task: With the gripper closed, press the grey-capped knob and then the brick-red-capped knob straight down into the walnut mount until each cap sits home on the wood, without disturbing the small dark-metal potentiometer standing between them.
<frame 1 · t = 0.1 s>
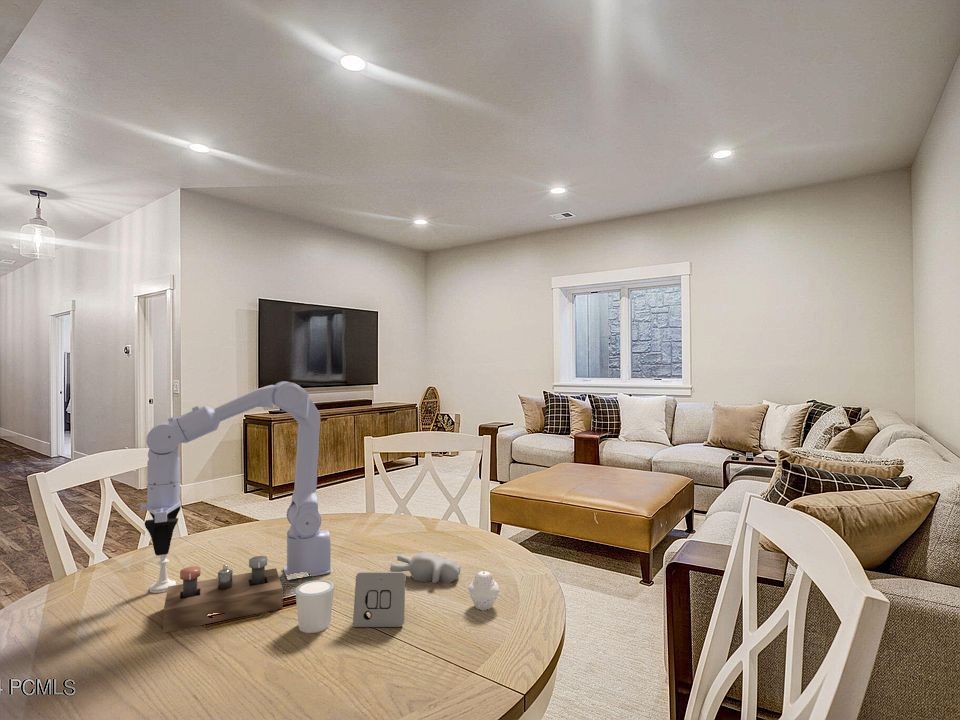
hand: (163, 548, 106), 10 cm above the table, fingers open, 7 cm apart
mount: (225, 607, 102), on the table
bunny figurine: (426, 579, 116), on the table
electrical switch: (379, 622, 97), on the table
chess piece: (163, 588, 111), on the table
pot: (225, 587, 102), point 4 cm above the table, touching mount
knob red: (190, 583, 99), point 6 cm above the table, slide at 0.0 cm
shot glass: (314, 626, 95), on the table
knob grey: (258, 572, 104), point 6 cm above the table, slide at 0.0 cm
white owl figurine: (483, 607, 102), on the table
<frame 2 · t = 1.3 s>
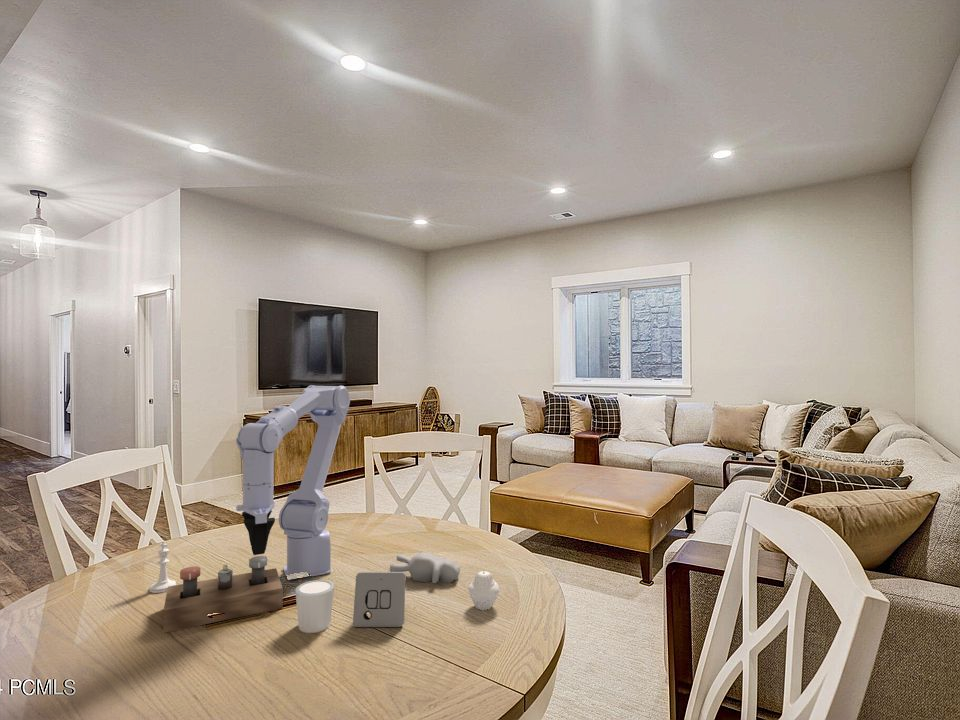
hand: (257, 549, 104), 10 cm above the table, fingers open, 4 cm apart
nothing on the table moved.
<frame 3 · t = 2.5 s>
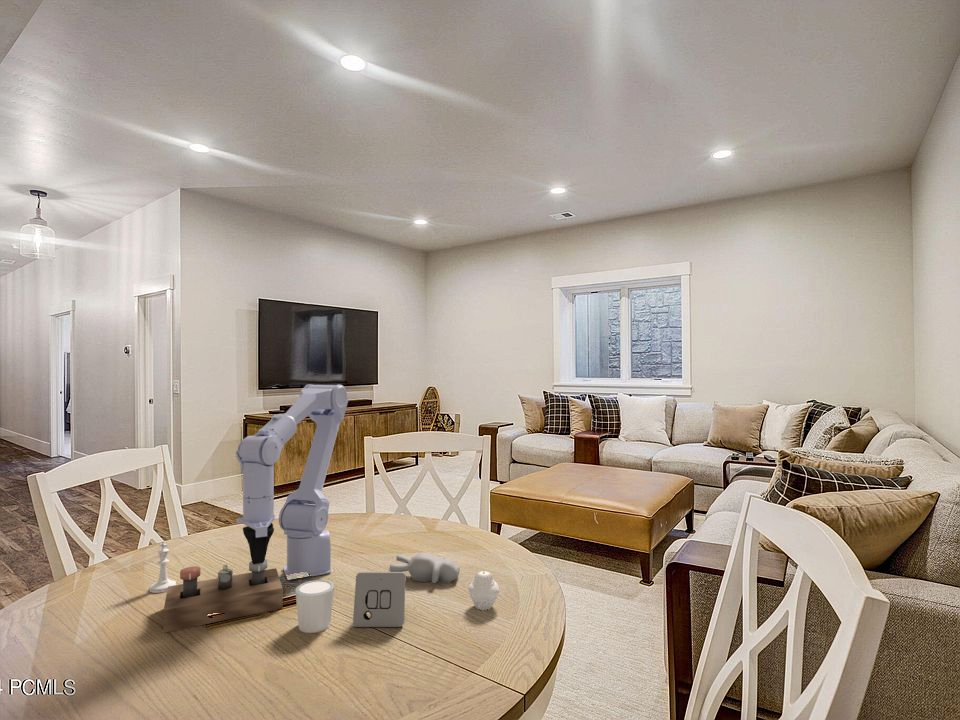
hand: (258, 562, 105), 8 cm above the table, fingers closed, pressing on knob grey
knob grey: (258, 575, 104), point 5 cm above the table, slide at 0.7 cm, touching gripper
everything else where it was.
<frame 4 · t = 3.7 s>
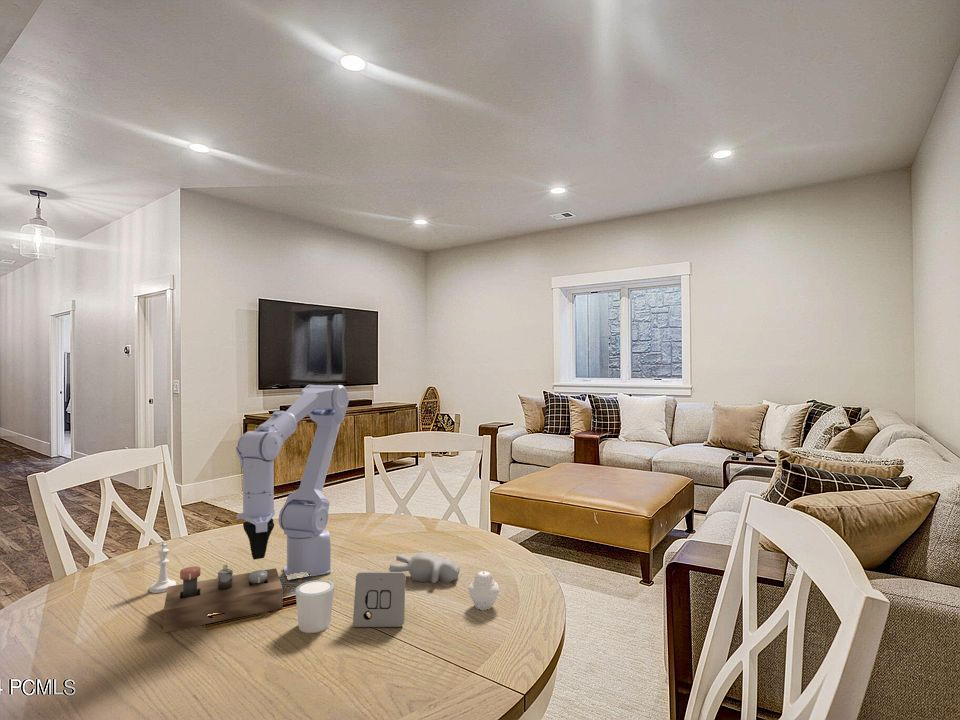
hand: (258, 557, 105), 9 cm above the table, fingers closed
knob grey: (258, 586, 104), point 3 cm above the table, slide at 2.9 cm
everything else where it was.
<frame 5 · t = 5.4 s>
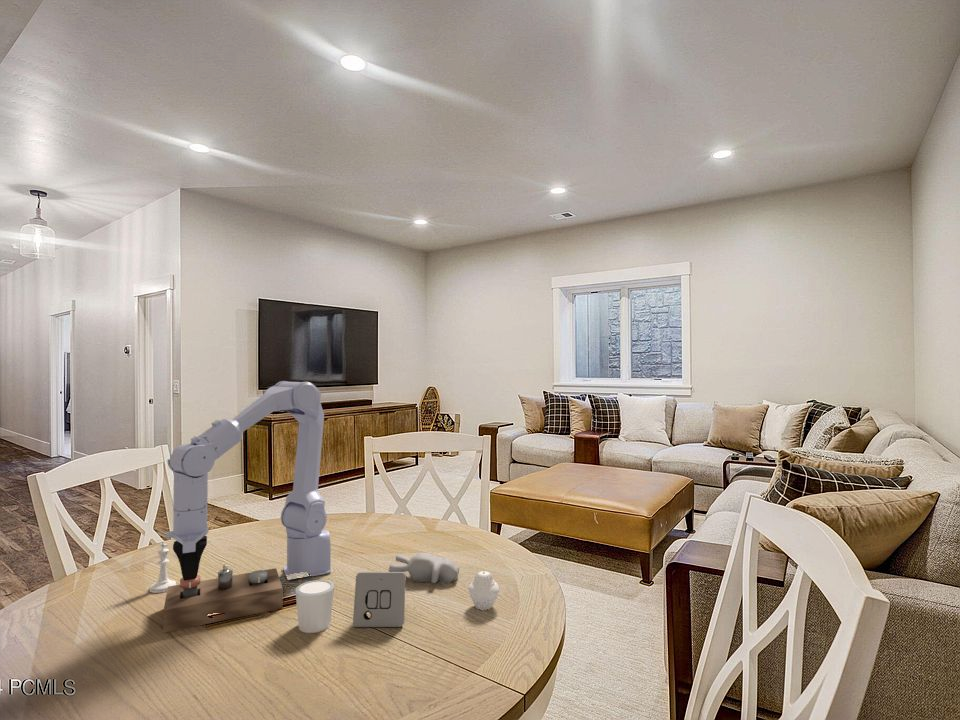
hand: (190, 578, 99), 7 cm above the table, fingers closed, pressing on knob red
knob red: (190, 592, 99), point 4 cm above the table, slide at 1.6 cm, touching gripper
everything else where it was.
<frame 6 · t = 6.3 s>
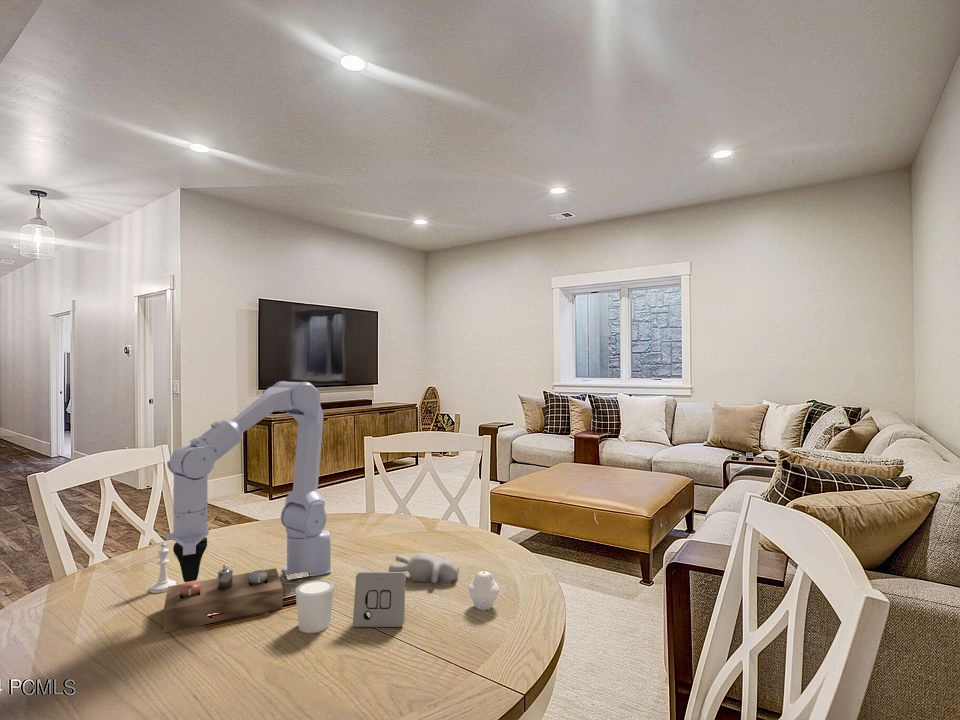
hand: (190, 580, 99), 7 cm above the table, fingers closed
knob red: (190, 599, 99), point 3 cm above the table, slide at 2.9 cm
everything else where it was.
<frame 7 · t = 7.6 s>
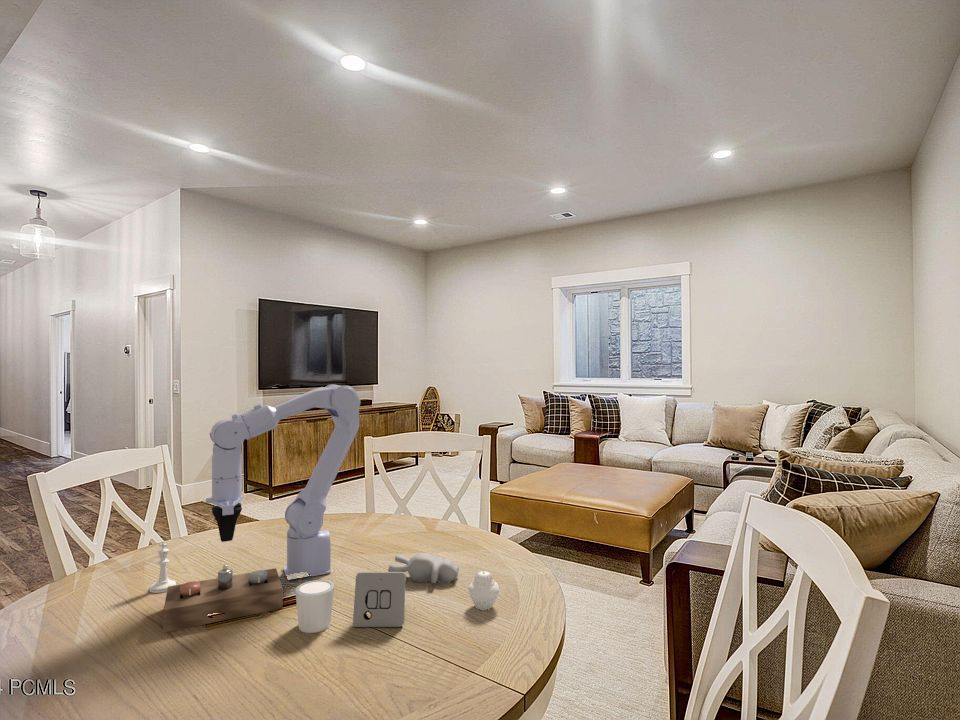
hand: (226, 540, 110), 10 cm above the table, fingers closed
nothing on the table moved.
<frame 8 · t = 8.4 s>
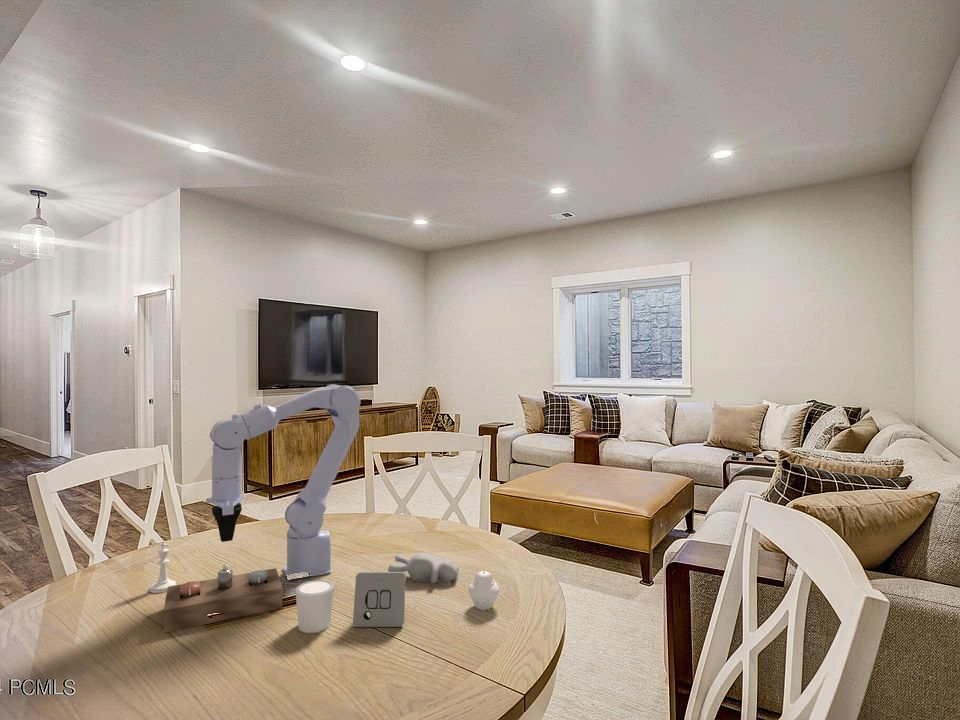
hand: (226, 540, 110), 10 cm above the table, fingers closed
nothing on the table moved.
at the end: knob grey slide at 2.9 cm; knob red slide at 2.9 cm; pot moved 0.1 cm from its start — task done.
